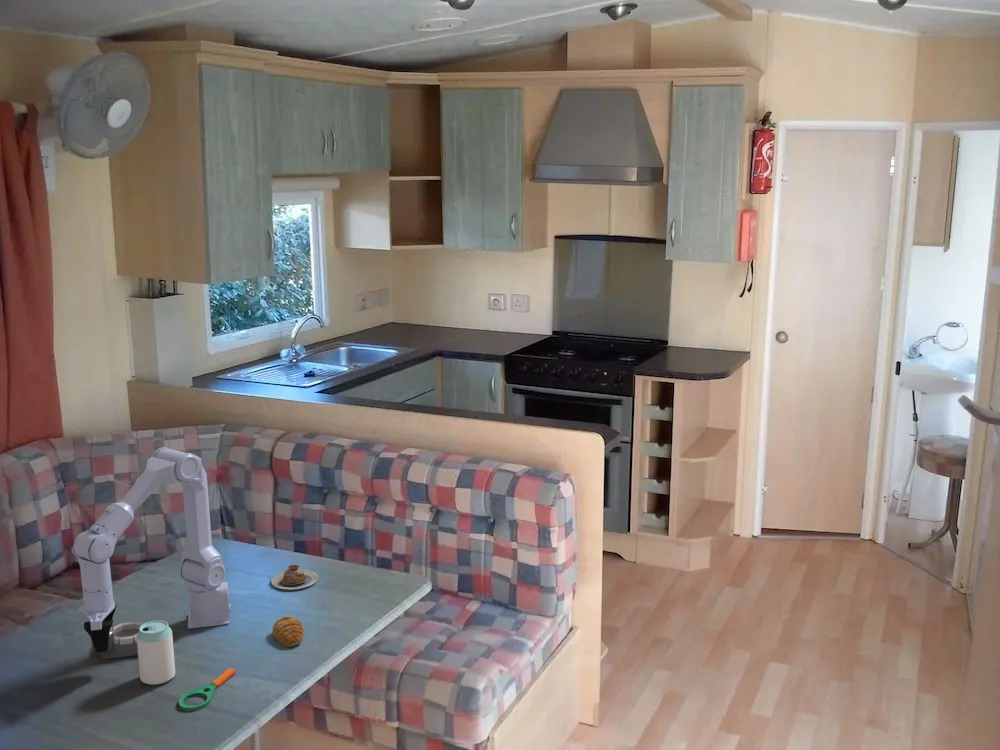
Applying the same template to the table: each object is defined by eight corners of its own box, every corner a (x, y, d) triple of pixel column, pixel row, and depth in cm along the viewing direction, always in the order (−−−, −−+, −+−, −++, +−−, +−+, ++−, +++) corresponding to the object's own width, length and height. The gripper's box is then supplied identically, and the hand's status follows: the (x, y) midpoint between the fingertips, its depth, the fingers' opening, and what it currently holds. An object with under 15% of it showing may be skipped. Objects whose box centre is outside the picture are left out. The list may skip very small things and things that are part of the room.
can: (155, 690, 201) (150, 637, 198) (133, 680, 204) (128, 628, 202) (182, 675, 206) (178, 623, 204) (160, 666, 210) (156, 615, 207)
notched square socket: (153, 636, 223) (152, 619, 222) (151, 653, 216) (150, 635, 215) (107, 642, 220) (105, 625, 219) (103, 659, 213) (101, 641, 212)
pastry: (310, 644, 220) (309, 629, 219) (280, 651, 217) (279, 636, 216) (298, 627, 228) (297, 612, 227) (270, 633, 225) (269, 618, 224)
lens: (116, 645, 210) (114, 619, 209) (114, 656, 206) (112, 629, 204) (93, 648, 209) (90, 622, 207) (90, 659, 204) (88, 632, 203)
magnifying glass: (196, 715, 193) (195, 708, 192) (172, 709, 195) (171, 701, 194) (243, 678, 206) (243, 671, 206) (220, 672, 208) (219, 665, 208)
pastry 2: (269, 576, 256) (268, 560, 255) (315, 570, 259) (314, 554, 258) (273, 595, 245) (272, 578, 243) (321, 589, 248) (320, 572, 247)
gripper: (81, 574, 209) (87, 631, 212) (72, 604, 196) (78, 664, 199) (116, 570, 211) (121, 627, 214) (109, 599, 198) (115, 660, 201)
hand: (103, 645), depth 207 cm, fingers closed on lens, 5 cm apart
